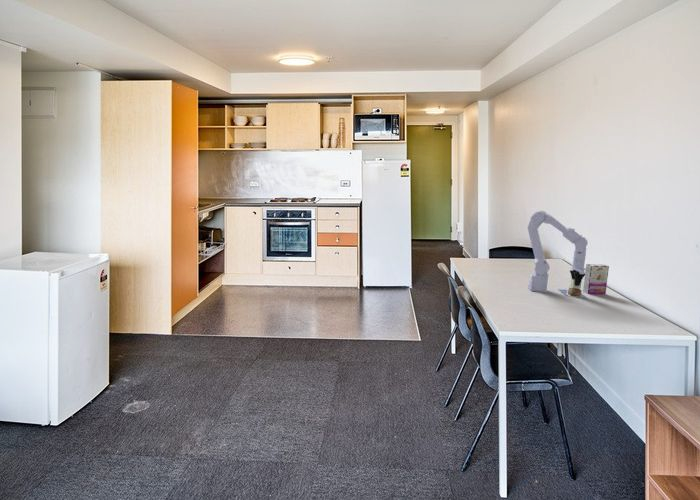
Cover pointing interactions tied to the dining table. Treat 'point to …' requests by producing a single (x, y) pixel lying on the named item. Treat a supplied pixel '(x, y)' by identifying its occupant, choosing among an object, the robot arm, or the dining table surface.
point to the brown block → (574, 292)
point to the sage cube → (574, 284)
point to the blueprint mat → (568, 294)
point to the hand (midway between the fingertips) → (575, 284)
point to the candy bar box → (595, 278)
